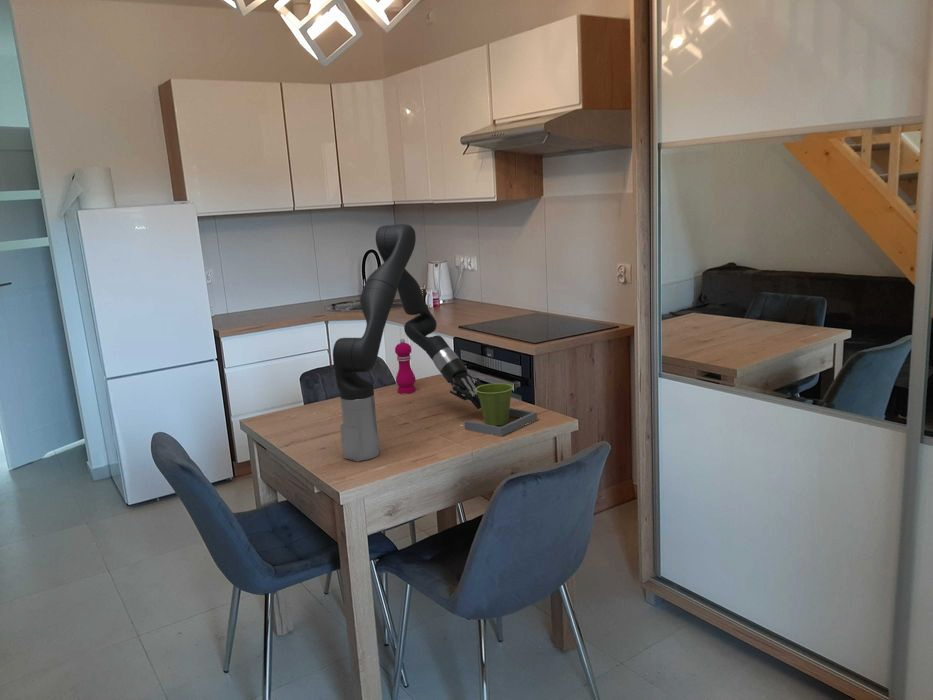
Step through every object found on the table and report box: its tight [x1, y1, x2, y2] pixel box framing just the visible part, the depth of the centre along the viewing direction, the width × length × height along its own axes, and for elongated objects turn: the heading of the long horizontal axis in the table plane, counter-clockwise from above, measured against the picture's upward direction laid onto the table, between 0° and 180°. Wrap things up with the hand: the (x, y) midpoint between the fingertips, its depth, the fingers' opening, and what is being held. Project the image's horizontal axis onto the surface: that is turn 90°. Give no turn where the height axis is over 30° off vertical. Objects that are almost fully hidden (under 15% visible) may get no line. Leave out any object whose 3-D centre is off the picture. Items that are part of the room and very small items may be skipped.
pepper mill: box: [394, 338, 417, 394], centre depth 262 cm, size 7×7×20 cm
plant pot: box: [475, 382, 515, 426], centre depth 219 cm, size 12×12×11 cm
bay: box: [463, 407, 538, 437], centre depth 218 cm, size 18×14×2 cm
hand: (481, 407), depth 223 cm, fingers closed
